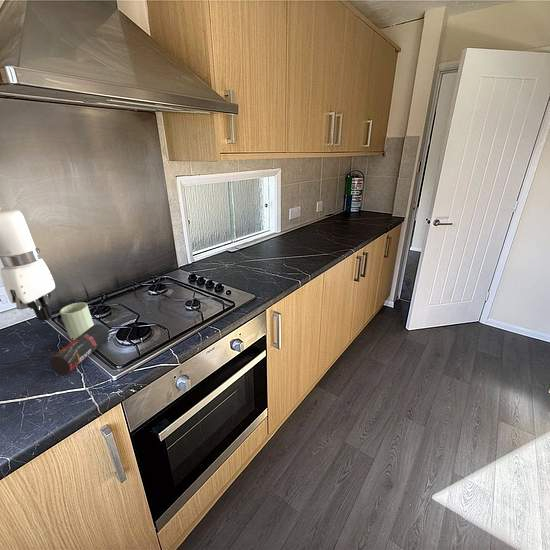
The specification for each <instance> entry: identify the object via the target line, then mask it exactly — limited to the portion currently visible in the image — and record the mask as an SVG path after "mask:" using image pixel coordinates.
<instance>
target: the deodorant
mask: <svg viewBox="0 0 550 550" xmlns="http://www.w3.org/2000/svg"><path fill="white" fill-rule="evenodd" d="M109 336H110V333H109V331H108V330H107V328H106V327H105V326H103V325H101V324H94V325H93V326H92V327H90V328H89V329H88V330H87V331H85V332H84V333H83V334H81V335H80V336H79V337H77V338H76V339H75V340H72V341H71V342H69V343H68V344H67V345H66V346H64V347H63V348H61V349H60V350H59V351H57V352H56V353H55V354H53V355H52V356H51V357H50V358H49V364H50V366H51V368H52V369H53V370H54V371H55V372H57V373H59V374H61V375H62V374H63V375H67V374H69V373H70V372H72V371H73V370H74V369H75V368H76V367H78V366H79V365H80V364H81V363H82V362H83V361H84V360H85V359H86V358H88V357H89V356H90V355H91V354H92V353H93V352H94V351H96V350H97V349H98V348H99V347H100V346H102V345H103V344H104V343H105V342H106V341H107V340H108V339H109Z"/></svg>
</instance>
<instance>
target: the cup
mask: <svg viewBox="0 0 550 550" xmlns="http://www.w3.org/2000/svg"><path fill="white" fill-rule="evenodd" d="M59 315H60V317H61V319H62V322H63V326H64V328H65V330H66V333H67V335H68V338H69V339H70V340H72V341H73V340H75V339H76V338H77V337H79V336H80V335H81V334H83V333H84V332H85V331H87V330H88V329H89V328H90V327H92V326H93V325H95V324H94V321H93V317H92V315H91V311H90V309H89V306H88V303H87V302H83V301H81V302H74V303H71V304H68V305H65V306H63V307H62V308H61V309H60V310H59ZM72 338H73V339H72Z"/></svg>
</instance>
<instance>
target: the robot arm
mask: <svg viewBox="0 0 550 550" xmlns="http://www.w3.org/2000/svg"><path fill="white" fill-rule="evenodd" d="M40 252H41V250H40V248H39V247H36V244H35V242H34V239H33V237H32V235H31V232H30V229H29V227H28V224H27V221H26V219H25V216H24V214H23V213H22V212H21V211H20V210H18V209H14V208H8V209H7V208H6V209H0V262H1V264H2V266H3V267H1V268H0V275H1V280H2V284H3V287H4V291H5V293H6V295H7V298H8V300H9V302H10V303H12V304H15V306H16V307H15V308H16V309H17V310H25V309H31V310H33V312H34V314H35V316H36V318H37V320H39V321H49V320H50V319H52V318H53V315H52V311H51V309H50V306H49V305H50V303H51V301H50V299H51V296H52V295H54V294H55V293H56V292H57V291H56V282H55V280H54V277H53V276H52V273H51V271H50V270H49V269H50V268H49V267H48V266H47V264H46V263H45V261H44V259H43V258H42V257H40V255H39V253H40Z"/></svg>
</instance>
